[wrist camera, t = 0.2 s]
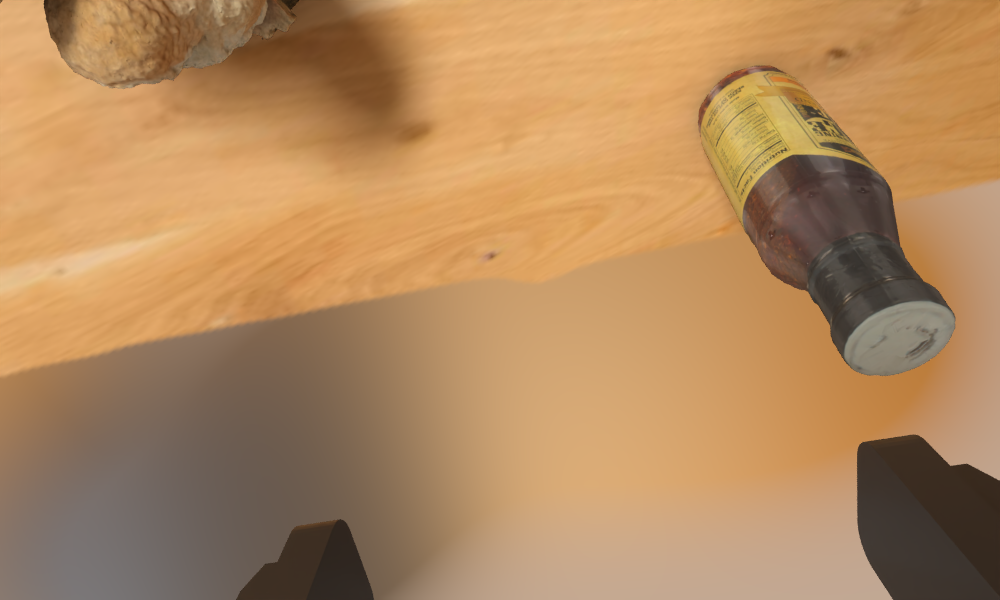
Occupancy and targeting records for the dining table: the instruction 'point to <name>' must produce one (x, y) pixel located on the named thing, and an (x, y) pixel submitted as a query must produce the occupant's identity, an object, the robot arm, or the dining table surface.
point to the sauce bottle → (821, 219)
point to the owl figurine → (156, 35)
